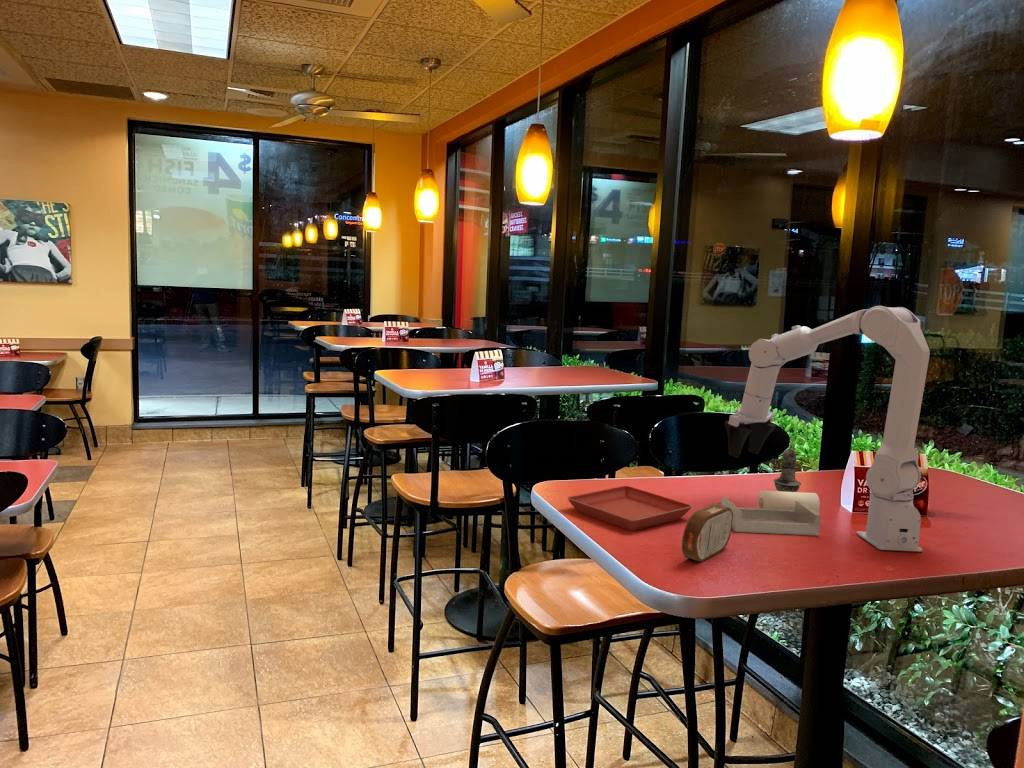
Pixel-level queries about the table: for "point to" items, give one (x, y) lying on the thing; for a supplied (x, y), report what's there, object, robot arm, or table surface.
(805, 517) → the cradle
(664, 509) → the plant saucer
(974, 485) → the table surface
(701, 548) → the tin
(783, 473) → the rusty metal finial
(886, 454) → the robot arm
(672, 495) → the table surface
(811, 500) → the roll
